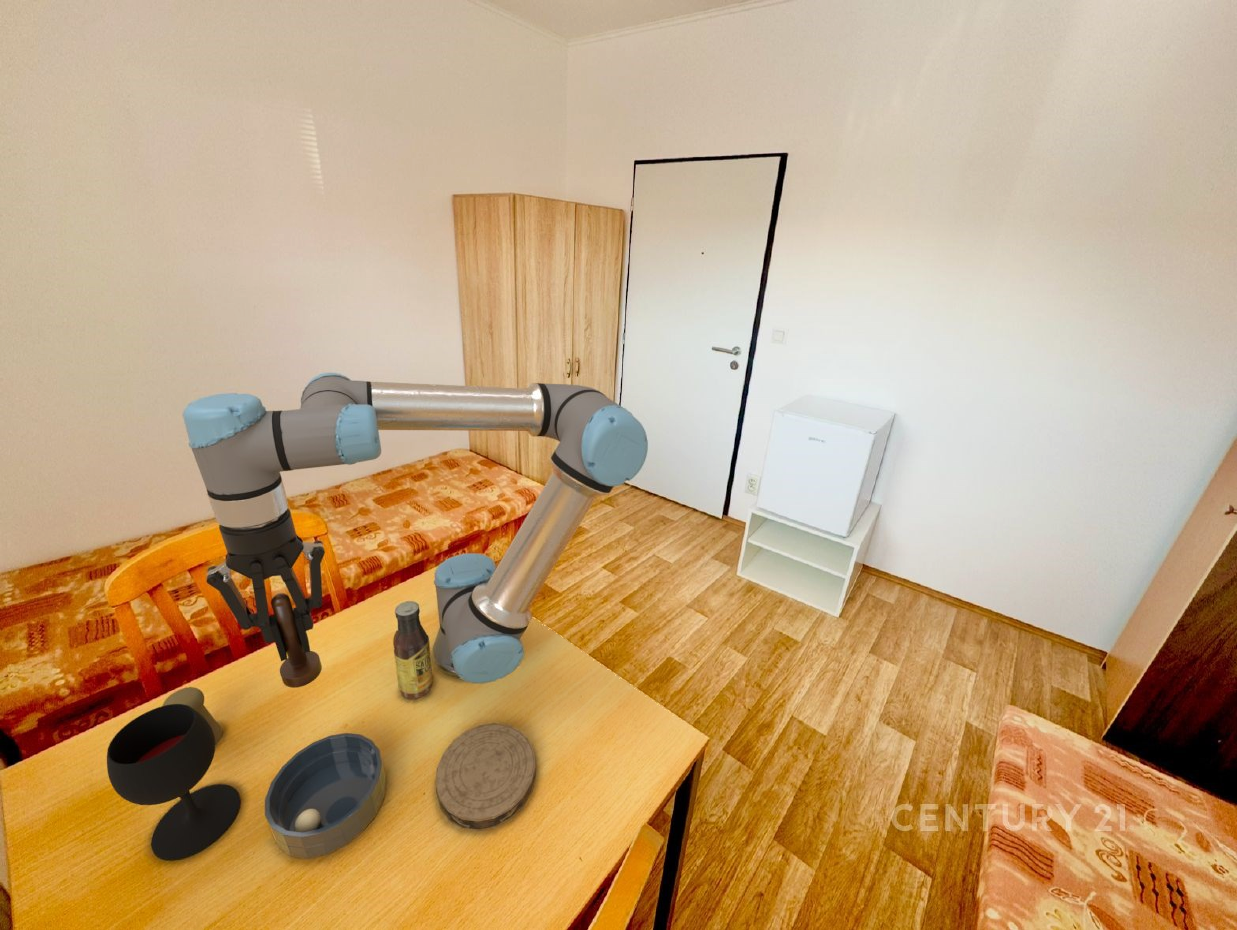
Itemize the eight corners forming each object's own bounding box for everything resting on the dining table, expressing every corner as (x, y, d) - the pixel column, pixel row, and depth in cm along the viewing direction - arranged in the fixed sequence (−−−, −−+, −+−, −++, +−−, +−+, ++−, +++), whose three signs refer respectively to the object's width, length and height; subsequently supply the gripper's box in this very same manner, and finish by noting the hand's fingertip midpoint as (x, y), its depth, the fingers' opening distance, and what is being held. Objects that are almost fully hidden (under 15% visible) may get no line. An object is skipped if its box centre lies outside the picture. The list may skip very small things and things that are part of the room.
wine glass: (228, 771, 79) (191, 685, 70) (251, 818, 73) (214, 730, 65) (143, 823, 72) (90, 734, 63) (161, 880, 66) (105, 790, 57)
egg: (327, 809, 74) (323, 821, 71) (312, 831, 73) (308, 844, 70) (307, 801, 73) (302, 812, 70) (292, 823, 72) (287, 835, 69)
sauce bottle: (425, 702, 93) (415, 624, 84) (393, 699, 93) (379, 620, 84) (439, 674, 99) (430, 599, 90) (409, 671, 99) (397, 595, 90)
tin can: (487, 854, 72) (486, 842, 70) (415, 791, 79) (413, 779, 77) (554, 765, 84) (554, 754, 83) (487, 718, 91) (486, 707, 90)
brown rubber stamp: (326, 657, 78) (305, 581, 71) (316, 685, 74) (293, 607, 66) (289, 661, 77) (264, 583, 69) (277, 689, 72) (249, 610, 65)
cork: (197, 762, 80) (176, 717, 75) (167, 753, 81) (144, 708, 76) (231, 729, 85) (213, 685, 81) (202, 721, 86) (183, 677, 82)
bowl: (377, 741, 86) (373, 718, 83) (394, 823, 74) (389, 799, 72) (273, 785, 78) (265, 761, 75) (274, 884, 66) (264, 860, 64)
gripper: (319, 489, 69) (348, 615, 79) (179, 516, 61) (231, 653, 71) (326, 514, 63) (356, 646, 74) (173, 547, 55) (231, 691, 65)
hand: (295, 649), depth 72 cm, fingers closed on brown rubber stamp, 2 cm apart
